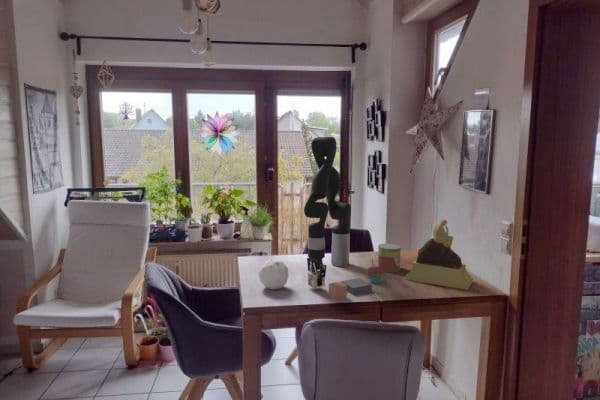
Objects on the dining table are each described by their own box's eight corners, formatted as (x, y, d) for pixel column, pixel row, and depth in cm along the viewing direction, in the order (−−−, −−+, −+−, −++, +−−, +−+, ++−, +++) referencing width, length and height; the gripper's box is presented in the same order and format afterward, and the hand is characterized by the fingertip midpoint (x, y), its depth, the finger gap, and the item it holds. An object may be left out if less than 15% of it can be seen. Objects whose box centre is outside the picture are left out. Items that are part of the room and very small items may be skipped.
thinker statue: (472, 281, 206) (476, 219, 201) (467, 290, 195) (471, 223, 190) (413, 272, 220) (415, 213, 215) (405, 279, 209) (407, 217, 204)
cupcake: (370, 285, 201) (371, 259, 199) (363, 279, 209) (363, 255, 207) (387, 283, 203) (388, 258, 201) (379, 277, 211) (380, 253, 209)
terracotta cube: (328, 295, 188) (328, 283, 187) (339, 293, 190) (339, 281, 189) (335, 300, 183) (335, 287, 182) (346, 297, 185) (346, 285, 184)
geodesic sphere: (301, 277, 194) (288, 250, 198) (277, 284, 184) (264, 255, 189) (283, 290, 203) (272, 263, 207) (260, 297, 194) (248, 269, 198)
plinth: (340, 287, 198) (340, 281, 197) (359, 284, 202) (359, 278, 202) (352, 294, 189) (352, 288, 188) (371, 291, 193) (372, 284, 193)
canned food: (394, 273, 218) (394, 250, 216) (373, 269, 224) (374, 246, 223) (403, 268, 226) (404, 245, 225) (383, 264, 233) (384, 242, 231)
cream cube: (308, 284, 197) (308, 272, 196) (318, 282, 199) (318, 270, 198) (313, 288, 192) (313, 276, 191) (324, 286, 194) (324, 274, 193)
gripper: (301, 244, 197) (301, 280, 200) (316, 251, 185) (316, 290, 187) (316, 242, 201) (316, 277, 203) (332, 249, 188) (331, 287, 191)
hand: (316, 283), depth 195 cm, fingers closed on cream cube, 5 cm apart
